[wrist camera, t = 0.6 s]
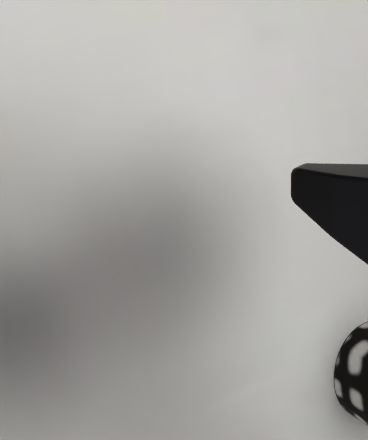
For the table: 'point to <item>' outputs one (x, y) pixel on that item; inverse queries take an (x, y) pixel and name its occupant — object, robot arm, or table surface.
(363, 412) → the spotted tube
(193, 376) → the table surface
